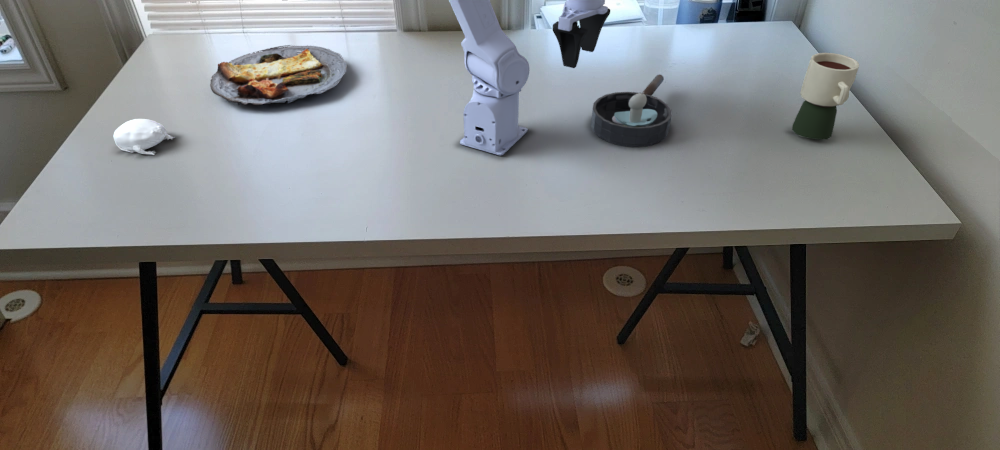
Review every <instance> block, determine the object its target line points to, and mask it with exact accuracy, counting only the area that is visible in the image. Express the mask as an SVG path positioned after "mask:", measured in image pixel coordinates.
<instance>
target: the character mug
mask: <svg viewBox="0 0 1000 450" xmlns="http://www.w3.org/2000/svg"><path fill="white" fill-rule="evenodd" d="M859 68H860V63H859V61H857V60H856V59H854V58H852V57H850V56H848V55H844V54H841V53H834V52H819V53H818V52H817V53H815V54H812V55H811V57H810V59H809V62H808V65H807V69H806V72H805V75H804V79H803V81H802V85H801V88H800V93H799V94H800V96H801V98H802V99H803V102H802V104H801V106H800V108H799V110H798V112H797V114H796V116H795V118H794V121H793V123H792V126H791V130H792V131H793V133H795V135H797V136H800V137H802V138H806V139H811V140H829V139H830V138H832V135H833V133H834V129H835V122H836V117H837V113H838V109H837V107H839V106H842V105H844V104H845V103H846V102H847V101H848V100H849V98H850V91H851V88H852V86H853V84H854V83H855V81H856V77H857V73H858V71H859Z"/></svg>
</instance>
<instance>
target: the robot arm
mask: <svg viewBox="0 0 1000 450" xmlns="http://www.w3.org/2000/svg"><path fill="white" fill-rule="evenodd" d="M448 2H449V4H450V6H451V9H452V12H453V14H454V15H455V18H456V20H457V22H458V24H459V25H460V29H461V30H462V32H463V35H464V38H463V40H462V41H461V42H460V45H461V48H462V50H463V54H464V58H463V62H464V67H465V70H466V71H467V72H468V73H469V74H470V75H471V82H472V83H473V91H472V95H471V98H470V100H469V101H468V103H466V105H465V106H464V109H463V137H462V138H461V139H460V140H459V144H460V145H462V146H466V147H468V148H471V149H476V150H479V151H483V152H486V153H489V154H493V155H497V156H501V157H502V156H503V155H505V154H506V153H507V152H508V151H509V150H510V149H511V148H512V147H513V146H514V145H515V144H516V143H517V142H518V141H519V140H520V139H522V137H523V136H524V135H526V133H527V132H529V131H528V129H529V128H527V127H525V126H521V125H519V113H520V112H519V110H520V109H519V106H520V105H519V104H520V93H521V92H522V89H523V88H524V86H525V85H526V84H527V83H528V82H527V81H528V79H529V77H530V70H531V69H530V64H529V61H528V59H527V58H526V57H525V56H523V55H522V54H520V52H519V51H518V48H517V46H516V44H515V43H514V41H512V40H511V38H509V37H508V35H507V34H506V33H505V32H504V31H503V29H502V28H501V25H500V22H499V20H498V17H497V15H496V13H495V10H494V8H493V4H492V3H491V0H448ZM610 14H611V9H610V8H609V7H608V6H606V0H565V2H564V4H563V9H562V12H561V15H560V16H559V17H558V20H556V21H555V22H554V23H553V24H552V33H553V34H554V36H555V37H556V40H557V43H558V46H559V50H560V55H561V60H562V65H563V67H566V68H571V69H575V68H576V67H577V66H578V63H579V58H580V54H581V51H585V52H589V53H593V52H594V51H595V49H596V46H597V43H598V40H599V39H600V38H599V37H600V34H601V32H602V28H603V27H604V24H605V22H606V21H607V19H608V17H609V16H610ZM578 23H579V24H578Z"/></svg>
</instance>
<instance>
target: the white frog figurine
mask: <svg viewBox="0 0 1000 450" xmlns="http://www.w3.org/2000/svg"><path fill="white" fill-rule="evenodd" d="M173 139H176V137H175V136H172V135H171V134H168V132H167V129H166V127H165V126H164V125H163V124H162V123H159V122H158V121H155V120H152V119H148V118H134V119H130V120H127V121H125V122H123V124H120V125H119V126H118V127H117V128H116V129H115V130H114V132H113V141H114V142H115V146H116V147H117V148H119V149H120V150H121V151H123V152H128V153H132V154H133V153H138V154H142V155H152V156H155V154H156V153H157V152H156V151H155V150H152V151H151V150H148V151H146V150H147V149H150V148H153V147H155V146H157V145H158V144H161V142H163V141H164V140H167V141H169V140H173Z"/></svg>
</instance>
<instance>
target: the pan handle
mask: <svg viewBox="0 0 1000 450" xmlns="http://www.w3.org/2000/svg"><path fill="white" fill-rule="evenodd" d="M664 80H665V79H664V76H663V75H662V74H657V75H655V77H654V78H653V79H652V80H651V81H650V82H649V84H648V85H647V86H646V88H645V89H644V90H643V91H642V92H641V93H643V94H645V95H646V94H647V95H651V96H653V95H654V94H655V92H656V91H657V89H658V88H659V87H660V86H661V84H662V83H663V82H664Z"/></svg>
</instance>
